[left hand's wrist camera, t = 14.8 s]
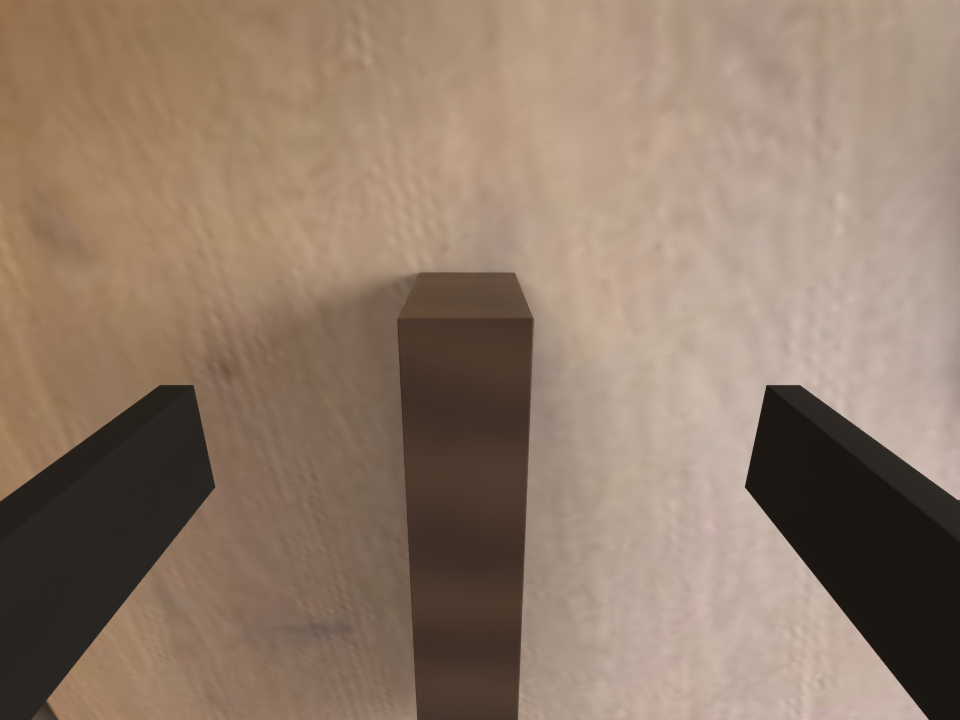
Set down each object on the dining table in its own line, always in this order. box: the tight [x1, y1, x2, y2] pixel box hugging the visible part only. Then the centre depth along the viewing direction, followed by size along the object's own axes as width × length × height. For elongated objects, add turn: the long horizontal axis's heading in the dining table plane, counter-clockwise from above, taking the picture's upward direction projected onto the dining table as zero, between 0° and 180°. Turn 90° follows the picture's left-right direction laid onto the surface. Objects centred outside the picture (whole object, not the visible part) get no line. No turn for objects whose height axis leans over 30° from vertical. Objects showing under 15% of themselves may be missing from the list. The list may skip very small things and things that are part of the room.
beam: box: [397, 273, 534, 720], centre depth 29 cm, size 30×5×9 cm, turn 0°
